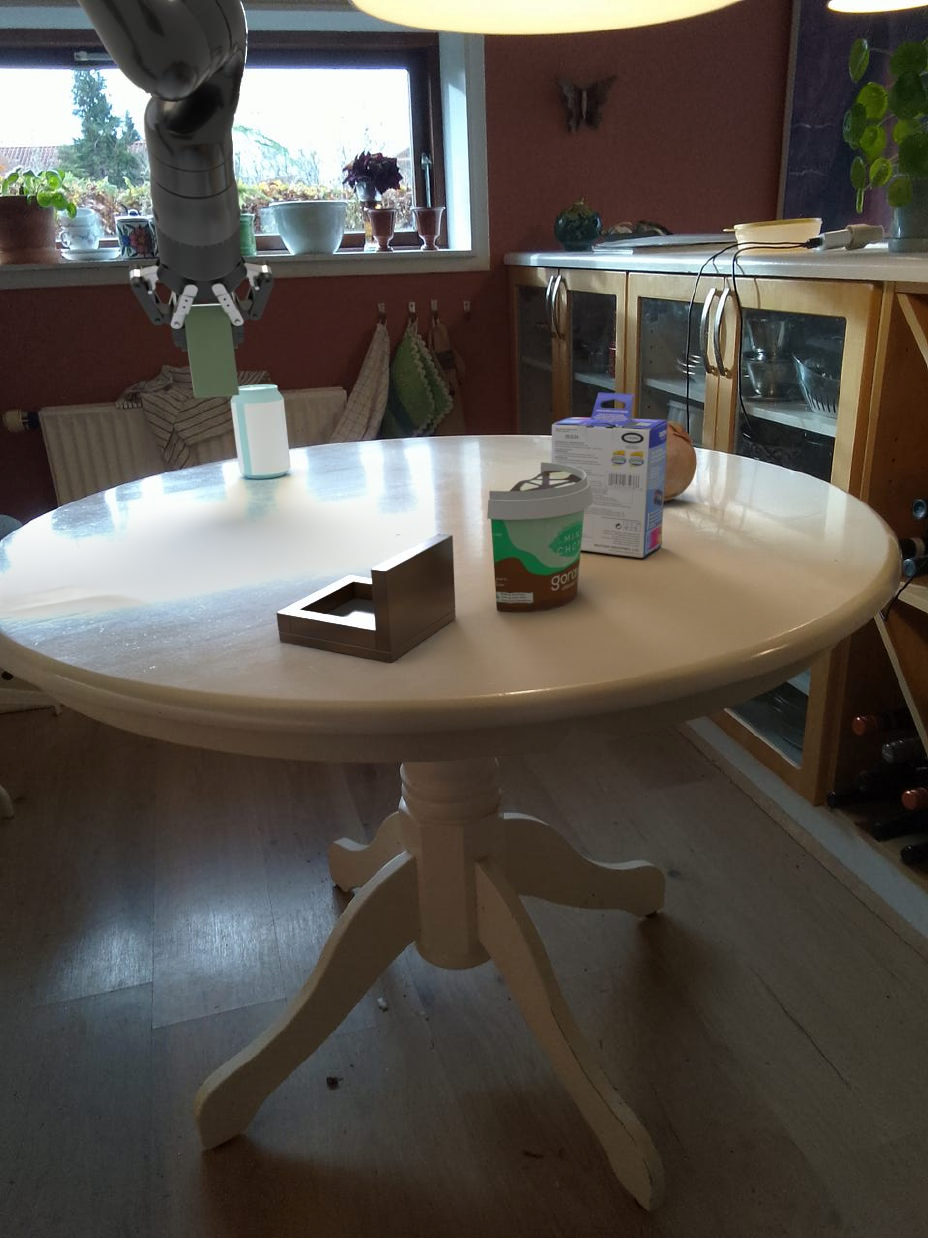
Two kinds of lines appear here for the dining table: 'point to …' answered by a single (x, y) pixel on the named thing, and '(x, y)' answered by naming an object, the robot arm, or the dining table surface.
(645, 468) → the ink cartridge box
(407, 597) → the seat frame
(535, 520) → the food container
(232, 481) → the dining table surface
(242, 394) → the can
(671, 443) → the onion
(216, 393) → the green rectangular block
